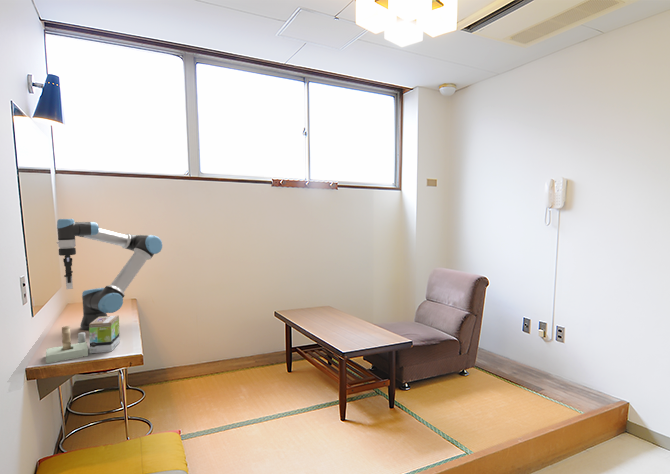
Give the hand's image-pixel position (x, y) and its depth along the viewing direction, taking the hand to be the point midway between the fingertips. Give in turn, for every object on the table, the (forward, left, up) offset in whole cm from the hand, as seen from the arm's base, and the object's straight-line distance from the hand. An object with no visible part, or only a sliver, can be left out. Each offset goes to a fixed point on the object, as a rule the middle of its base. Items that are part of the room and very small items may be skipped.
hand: (69, 287), depth 205 cm
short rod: (-4, +18, -29) cm, 34 cm away
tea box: (-14, +27, -29) cm, 42 cm away
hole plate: (+2, +29, -29) cm, 41 cm away
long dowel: (+2, +29, -29) cm, 41 cm away
